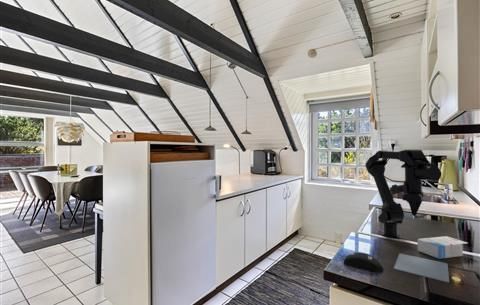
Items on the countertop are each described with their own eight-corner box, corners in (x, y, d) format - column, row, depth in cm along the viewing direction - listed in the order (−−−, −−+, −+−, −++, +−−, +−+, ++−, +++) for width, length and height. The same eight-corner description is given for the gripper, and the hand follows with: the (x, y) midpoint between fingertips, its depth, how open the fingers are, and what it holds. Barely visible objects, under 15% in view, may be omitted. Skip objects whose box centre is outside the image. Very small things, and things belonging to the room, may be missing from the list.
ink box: (439, 259, 86) (469, 255, 90) (438, 246, 87) (469, 242, 90) (417, 250, 95) (446, 247, 98) (416, 238, 95) (445, 235, 98)
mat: (399, 254, 91) (399, 253, 91) (447, 264, 83) (447, 263, 83) (393, 268, 79) (393, 268, 79) (449, 282, 70) (449, 281, 70)
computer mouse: (381, 276, 75) (380, 263, 75) (341, 265, 83) (341, 253, 83) (384, 267, 81) (384, 255, 81) (347, 258, 88) (347, 247, 89)
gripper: (393, 176, 113) (394, 209, 112) (387, 179, 98) (388, 216, 98) (423, 177, 106) (424, 212, 105) (421, 180, 91) (422, 221, 91)
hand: (414, 215), depth 100 cm, fingers closed
